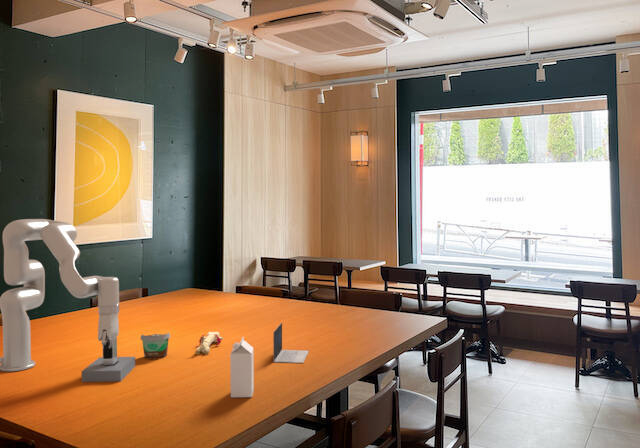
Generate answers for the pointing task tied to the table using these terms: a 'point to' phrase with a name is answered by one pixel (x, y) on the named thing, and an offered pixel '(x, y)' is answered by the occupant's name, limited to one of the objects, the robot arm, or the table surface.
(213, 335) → the beige piece
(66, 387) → the table surface
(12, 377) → the table surface
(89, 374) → the block
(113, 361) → the steel pin
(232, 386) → the milk carton
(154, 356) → the food container
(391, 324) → the table surface
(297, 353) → the laptop
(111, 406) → the table surface
